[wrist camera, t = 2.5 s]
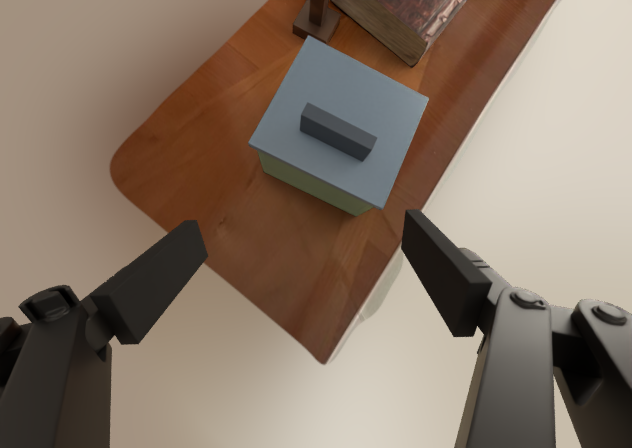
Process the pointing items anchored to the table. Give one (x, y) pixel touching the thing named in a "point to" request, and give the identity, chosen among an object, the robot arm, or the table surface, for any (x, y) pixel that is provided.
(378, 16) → the hardback book
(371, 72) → the lid
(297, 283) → the table surface
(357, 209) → the bin
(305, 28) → the stand
